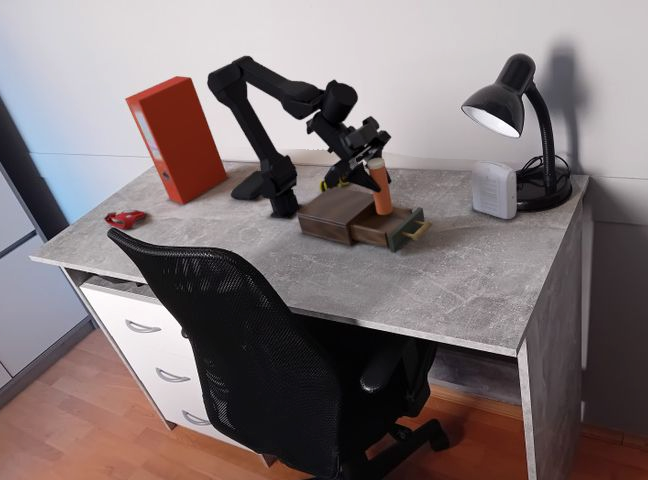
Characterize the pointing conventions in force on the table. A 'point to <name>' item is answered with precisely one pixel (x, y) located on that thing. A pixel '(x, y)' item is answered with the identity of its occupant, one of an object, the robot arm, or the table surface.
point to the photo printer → (494, 189)
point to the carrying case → (249, 187)
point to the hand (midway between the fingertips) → (385, 187)
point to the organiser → (334, 214)
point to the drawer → (389, 227)
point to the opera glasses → (324, 187)
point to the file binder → (178, 138)
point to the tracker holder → (124, 218)
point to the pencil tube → (380, 177)
